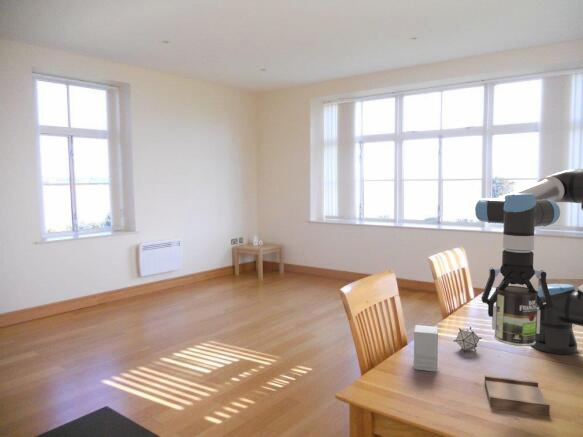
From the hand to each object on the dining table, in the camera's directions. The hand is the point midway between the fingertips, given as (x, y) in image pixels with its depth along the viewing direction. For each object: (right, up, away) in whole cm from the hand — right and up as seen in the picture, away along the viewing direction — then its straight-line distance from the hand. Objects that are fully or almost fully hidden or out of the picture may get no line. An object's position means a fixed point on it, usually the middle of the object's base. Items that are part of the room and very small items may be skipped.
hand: (514, 329), depth 120 cm
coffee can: (0, -3, 0) cm, 3 cm away
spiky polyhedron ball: (+2, -17, +37) cm, 40 cm away
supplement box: (-18, -18, +23) cm, 34 cm away
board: (0, -20, +1) cm, 20 cm away
